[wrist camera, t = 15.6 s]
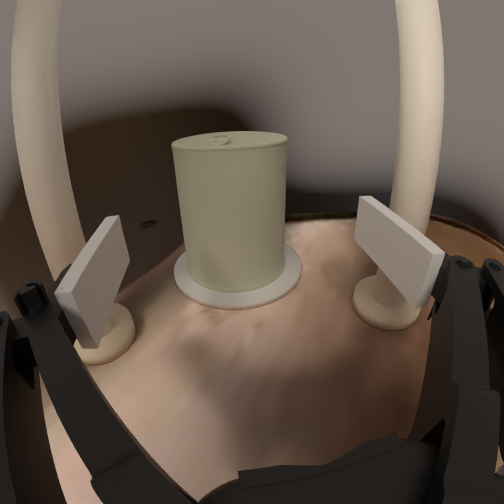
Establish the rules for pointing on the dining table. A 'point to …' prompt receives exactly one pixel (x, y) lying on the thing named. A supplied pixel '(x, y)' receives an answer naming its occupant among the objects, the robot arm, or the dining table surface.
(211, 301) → the coaster
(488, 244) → the dining table surface
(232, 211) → the can
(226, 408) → the dining table surface
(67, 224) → the gate
